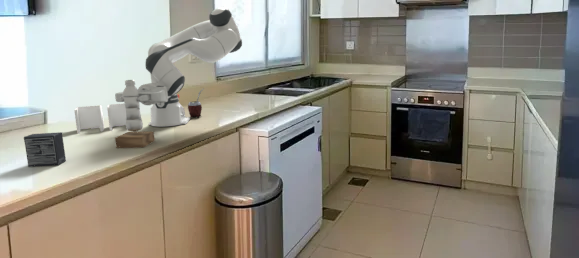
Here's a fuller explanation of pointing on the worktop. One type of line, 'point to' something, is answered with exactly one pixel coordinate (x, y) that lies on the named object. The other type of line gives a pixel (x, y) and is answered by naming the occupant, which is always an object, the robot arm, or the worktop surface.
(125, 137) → the plinth
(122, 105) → the pair of white bookends
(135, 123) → the plastic bottle
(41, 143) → the small box
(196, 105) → the mate gourd
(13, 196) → the worktop surface
